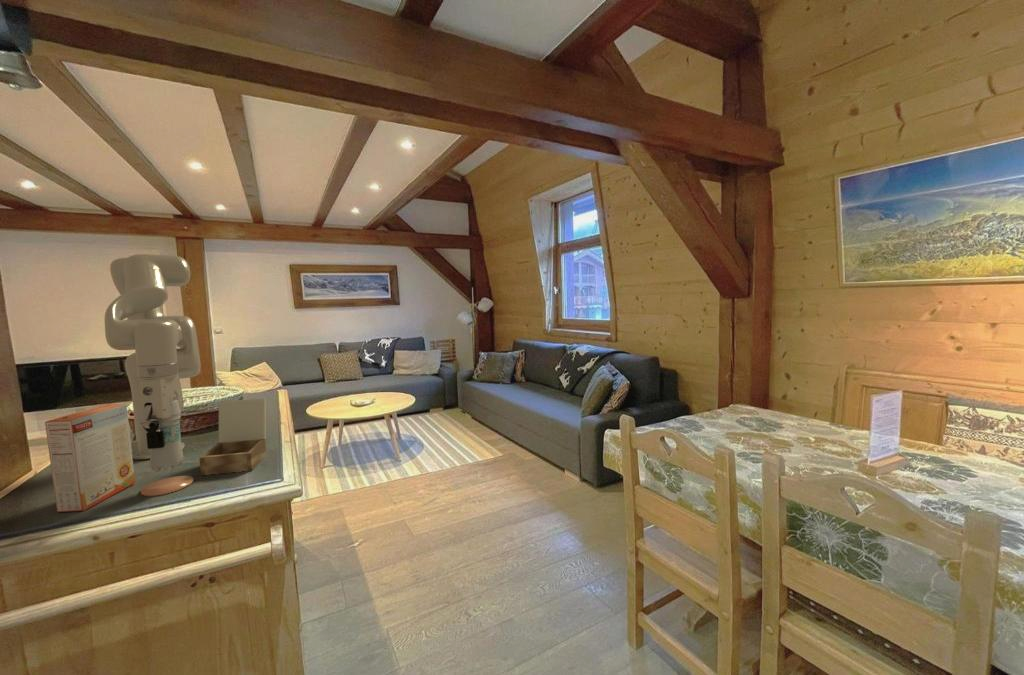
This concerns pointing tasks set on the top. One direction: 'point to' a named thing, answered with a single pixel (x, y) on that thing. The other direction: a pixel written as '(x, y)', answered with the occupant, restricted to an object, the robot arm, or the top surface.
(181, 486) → the saucer
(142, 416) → the robot arm
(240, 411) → the lid
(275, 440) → the top surface
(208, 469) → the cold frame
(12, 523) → the top surface
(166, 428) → the bottle
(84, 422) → the cracker box
